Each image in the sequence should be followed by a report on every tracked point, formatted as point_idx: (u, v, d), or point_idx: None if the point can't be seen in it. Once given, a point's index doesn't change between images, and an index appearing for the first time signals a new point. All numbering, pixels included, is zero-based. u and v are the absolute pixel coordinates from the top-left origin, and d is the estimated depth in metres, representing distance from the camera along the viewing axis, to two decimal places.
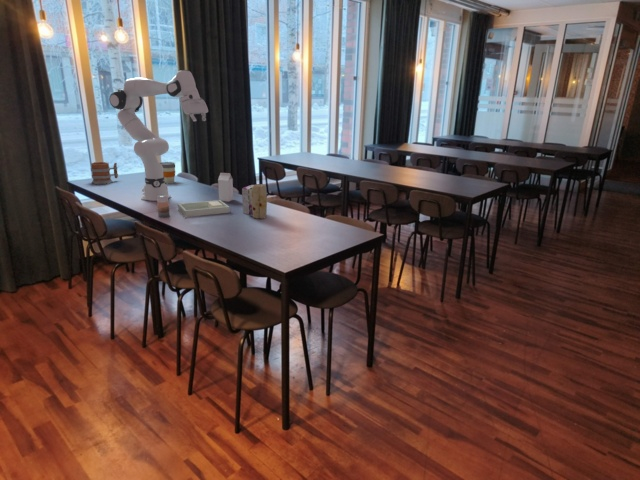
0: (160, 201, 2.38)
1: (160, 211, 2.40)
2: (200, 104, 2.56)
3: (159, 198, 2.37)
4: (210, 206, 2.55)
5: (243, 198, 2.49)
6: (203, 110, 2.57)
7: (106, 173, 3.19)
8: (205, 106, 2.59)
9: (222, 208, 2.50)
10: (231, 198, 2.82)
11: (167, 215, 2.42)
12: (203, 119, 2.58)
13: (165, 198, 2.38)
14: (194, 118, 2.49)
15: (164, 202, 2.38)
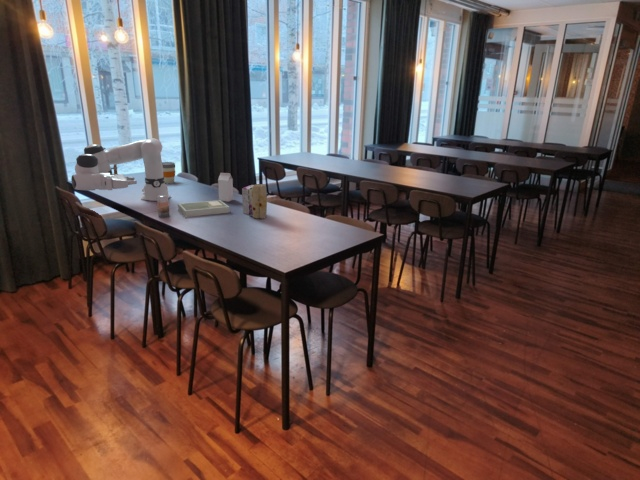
0: (160, 201, 2.38)
1: (160, 211, 2.40)
2: (115, 176, 2.28)
3: (159, 198, 2.37)
4: (210, 206, 2.55)
5: (243, 198, 2.49)
6: (122, 175, 2.31)
7: None
8: None
9: (222, 208, 2.50)
10: (231, 198, 2.82)
11: (167, 215, 2.42)
12: (132, 179, 2.33)
13: (165, 198, 2.38)
14: (133, 181, 2.25)
15: (164, 202, 2.38)
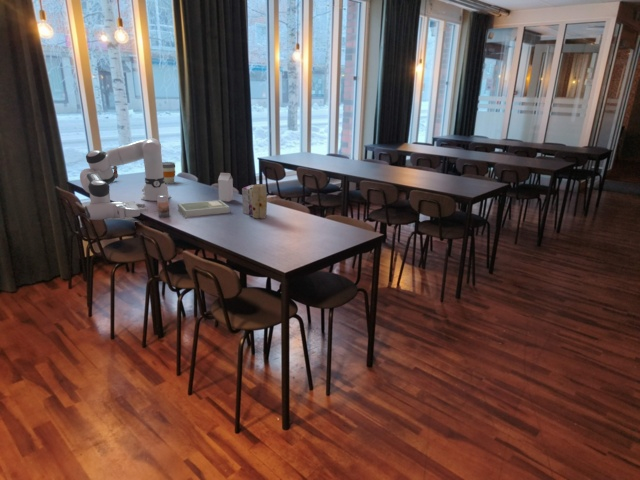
0: (160, 201, 2.38)
1: (160, 211, 2.40)
2: (126, 204, 2.35)
3: (159, 198, 2.37)
4: (210, 206, 2.55)
5: (243, 198, 2.49)
6: (133, 203, 2.37)
7: None
8: (128, 202, 2.39)
9: (222, 208, 2.50)
10: (231, 198, 2.82)
11: (167, 215, 2.42)
12: (143, 205, 2.40)
13: (165, 198, 2.38)
14: (144, 208, 2.31)
15: (164, 202, 2.38)
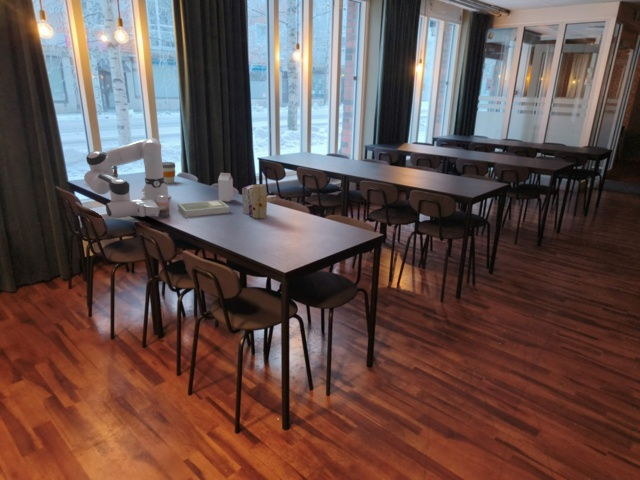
0: (160, 201, 2.38)
1: (160, 211, 2.40)
2: (145, 202, 2.40)
3: (159, 198, 2.37)
4: (210, 206, 2.55)
5: (243, 198, 2.49)
6: (152, 201, 2.42)
7: None
8: (147, 200, 2.44)
9: (222, 208, 2.50)
10: (231, 198, 2.82)
11: (167, 215, 2.42)
12: None
13: (165, 198, 2.38)
14: (163, 206, 2.37)
15: (164, 202, 2.38)
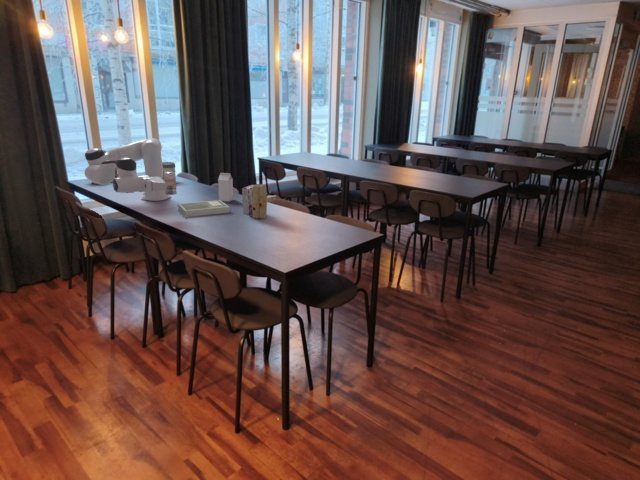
0: (167, 177, 2.35)
1: (167, 188, 2.37)
2: (152, 179, 2.37)
3: (166, 174, 2.35)
4: (210, 206, 2.55)
5: (243, 198, 2.49)
6: (159, 178, 2.40)
7: None
8: (154, 177, 2.41)
9: (222, 208, 2.50)
10: (231, 198, 2.82)
11: (174, 192, 2.39)
12: None
13: (172, 174, 2.36)
14: (170, 182, 2.35)
15: (171, 178, 2.36)
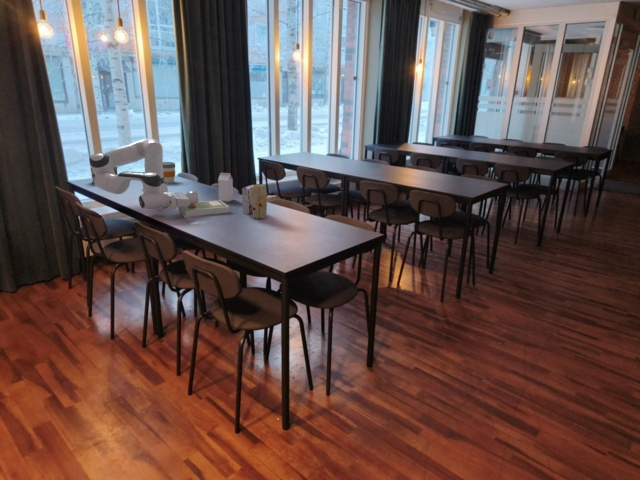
0: (190, 196, 2.46)
1: (190, 206, 2.47)
2: (176, 195, 2.47)
3: (189, 194, 2.45)
4: (210, 206, 2.55)
5: (243, 198, 2.49)
6: (182, 194, 2.49)
7: None
8: (177, 193, 2.51)
9: (222, 208, 2.50)
10: (231, 198, 2.82)
11: None
12: None
13: (195, 194, 2.46)
14: (194, 198, 2.44)
15: None
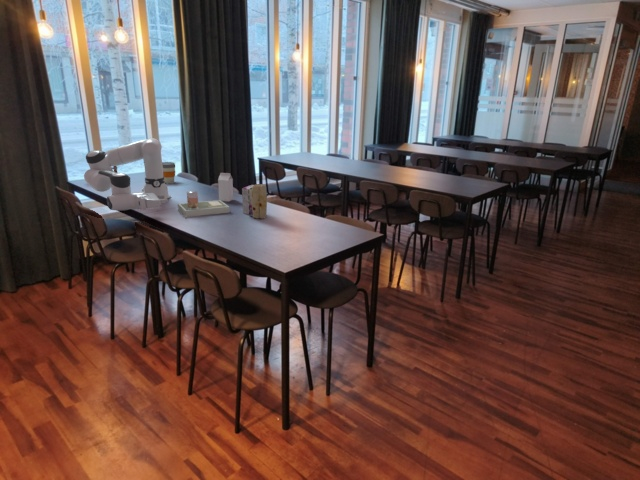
0: (190, 196, 2.46)
1: (190, 206, 2.47)
2: (146, 195, 2.39)
3: (189, 194, 2.45)
4: (210, 206, 2.55)
5: (243, 198, 2.49)
6: (153, 194, 2.41)
7: None
8: (148, 193, 2.43)
9: (222, 208, 2.50)
10: (231, 198, 2.82)
11: None
12: (163, 197, 2.44)
13: (195, 194, 2.46)
14: (165, 199, 2.36)
15: (194, 198, 2.46)
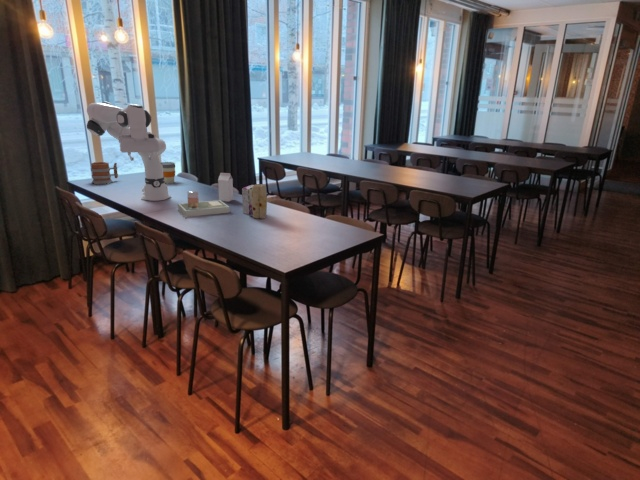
0: (191, 196, 2.46)
1: (190, 206, 2.47)
2: None
3: (190, 194, 2.45)
4: (210, 206, 2.55)
5: (243, 198, 2.49)
6: None
7: (106, 173, 3.19)
8: None
9: (222, 208, 2.50)
10: (231, 198, 2.82)
11: None
12: None
13: (196, 194, 2.46)
14: None
15: (195, 197, 2.47)
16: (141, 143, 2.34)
